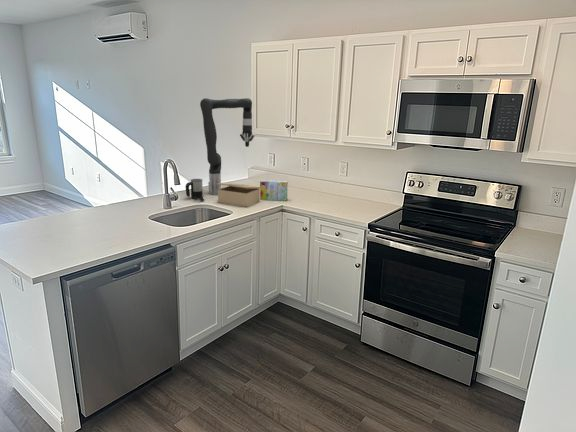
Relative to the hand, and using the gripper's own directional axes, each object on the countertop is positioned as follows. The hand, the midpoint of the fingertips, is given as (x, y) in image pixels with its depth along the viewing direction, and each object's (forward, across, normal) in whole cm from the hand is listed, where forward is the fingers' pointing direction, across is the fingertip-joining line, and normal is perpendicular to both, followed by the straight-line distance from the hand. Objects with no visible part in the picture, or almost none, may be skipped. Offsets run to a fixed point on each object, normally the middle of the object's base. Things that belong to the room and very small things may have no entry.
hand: (247, 146), depth 313 cm
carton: (+39, +9, -27) cm, 48 cm away
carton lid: (+27, +9, -27) cm, 39 cm away
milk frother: (+40, -22, -36) cm, 58 cm away
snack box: (+39, +28, -7) cm, 49 cm away
